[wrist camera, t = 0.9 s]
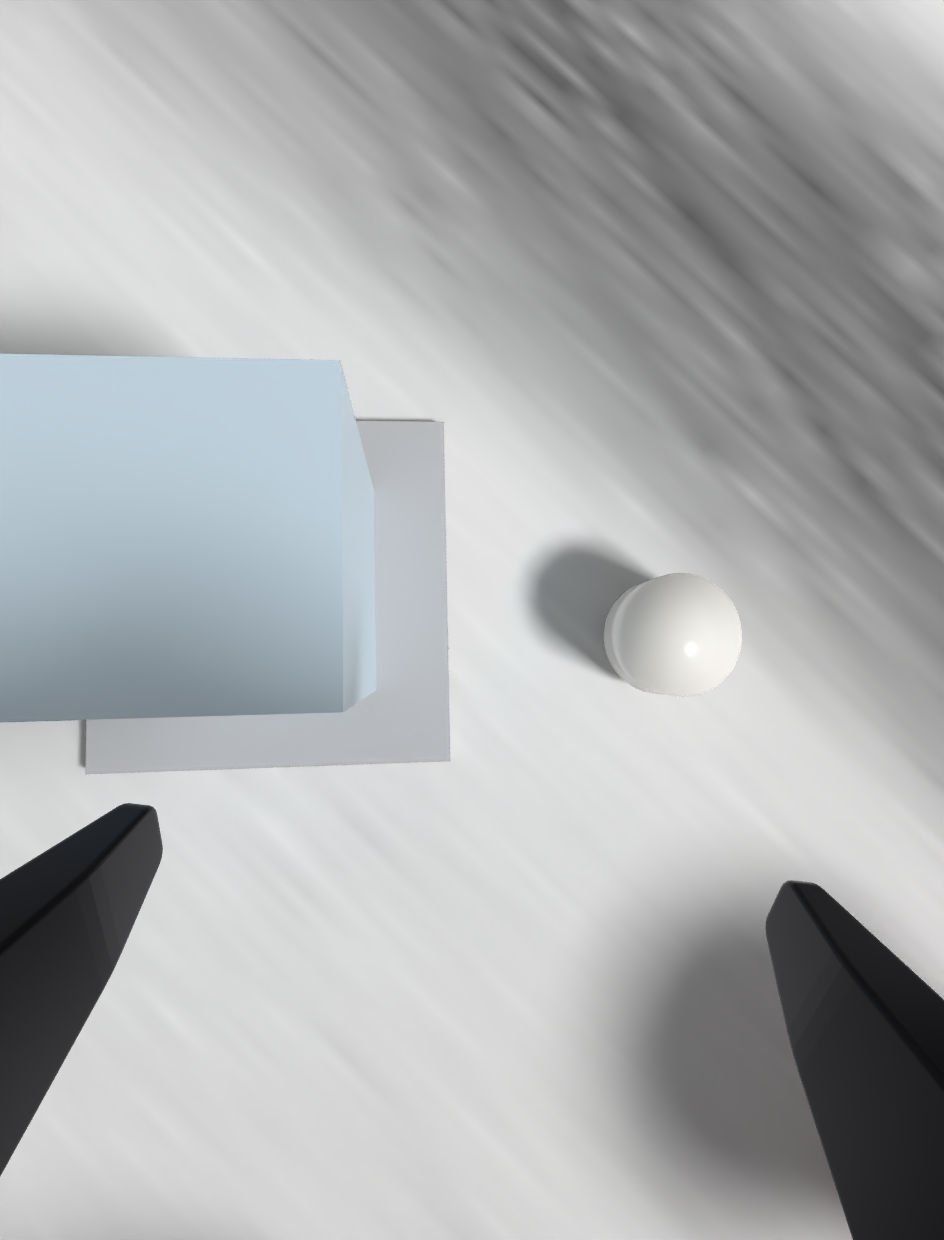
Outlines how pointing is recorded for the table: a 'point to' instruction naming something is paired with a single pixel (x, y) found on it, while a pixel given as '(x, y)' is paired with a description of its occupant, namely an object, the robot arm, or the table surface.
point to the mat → (405, 648)
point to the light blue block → (182, 539)
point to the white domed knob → (673, 635)
